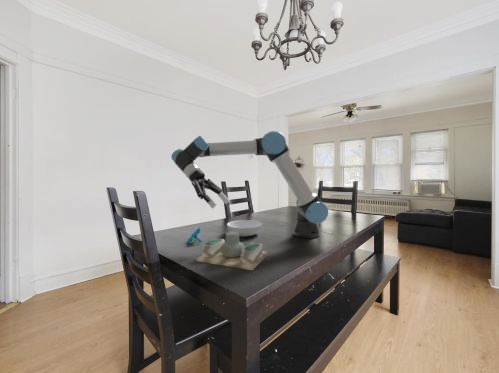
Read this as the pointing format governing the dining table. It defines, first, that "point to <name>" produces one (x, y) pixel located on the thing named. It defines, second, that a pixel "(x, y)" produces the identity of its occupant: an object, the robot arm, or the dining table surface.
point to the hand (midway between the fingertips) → (221, 204)
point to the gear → (194, 236)
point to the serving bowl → (244, 227)
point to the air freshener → (232, 245)
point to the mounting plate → (245, 261)
